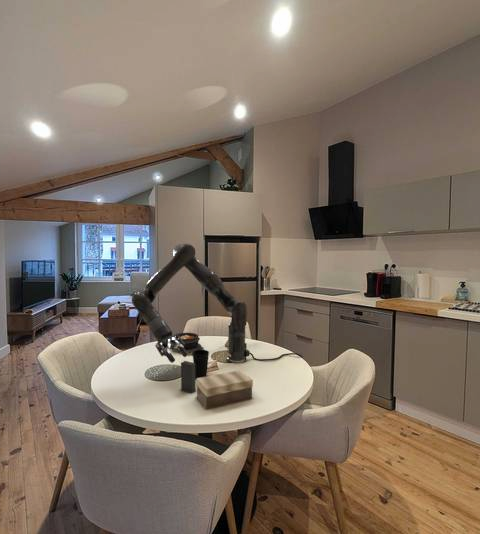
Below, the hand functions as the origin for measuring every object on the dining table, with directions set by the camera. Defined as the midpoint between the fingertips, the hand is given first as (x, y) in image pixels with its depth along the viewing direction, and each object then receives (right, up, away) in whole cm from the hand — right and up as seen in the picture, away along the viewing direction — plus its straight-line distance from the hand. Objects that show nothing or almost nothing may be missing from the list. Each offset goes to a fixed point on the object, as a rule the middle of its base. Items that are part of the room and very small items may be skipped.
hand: (180, 358), depth 135 cm
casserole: (-5, -10, +54) cm, 56 cm away
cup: (+8, -13, +13) cm, 20 cm away
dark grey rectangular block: (+4, -13, -1) cm, 14 cm away
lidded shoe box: (+19, -14, -8) cm, 25 cm away
